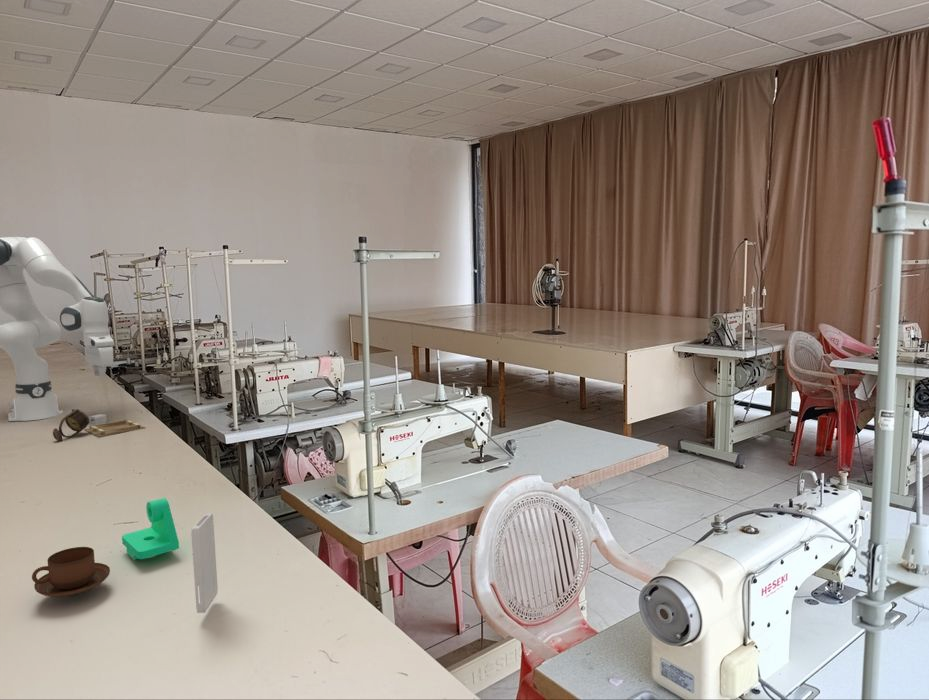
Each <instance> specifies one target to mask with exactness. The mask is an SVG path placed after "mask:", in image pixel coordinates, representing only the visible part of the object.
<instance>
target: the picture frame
mask: <svg viewBox="0 0 929 700" xmlns="http://www.w3.org/2000/svg"><path fill="white" fill-rule="evenodd" d="M143 429H146V427H145V426H143V425H141V424H139V423H137V422H134V421H131V420H129V419H124V420H123V419H122V420H118V421H117V420H115V421H110V422H107V423H103V424H97V425H91V424H90V425H89V428H85V429H83V431H85V432H87V433H88V434H90V435H93V436H94V437H96V438H98V439H100V438H104V437H109V436H110V437H111V436H114V435H119V434H120V435H121V434H123V433H129V432H135V431H138V430H143Z"/></svg>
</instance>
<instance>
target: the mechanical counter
mask: <svg viewBox="0 0 929 700" xmlns="http://www.w3.org/2000/svg"><path fill="white" fill-rule="evenodd" d="M64 422H65V423H66V425H67V427H68V428H69V429H70V430H71V431H73V432H74V433H73V434H71V435H65V434H64V433H63V429H62V428H63V427H62V426H63V423H64ZM88 425H90V421H89V416H88V415H87V413H85V412H84V411H83V410H80V409H78V408H75V409H74V408H73V409H71V412H70V413H68V414H66V415H65V416H64V417H63V418H62V419H61V420H60V423H59V425H58V428H56V427H55V428H54V429H52V437H53V438H54V439H55V440H56V441H58V442H62V441H63V438H67V439H68V438H69V439H70V438H73V437H76V435H78V434H79V433H81V432H82V431H84V429H87V426H88Z"/></svg>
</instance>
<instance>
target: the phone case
mask: <svg viewBox="0 0 929 700" xmlns="http://www.w3.org/2000/svg"><path fill="white" fill-rule="evenodd" d="M214 522H215V521H214V514H213V513H204V514H203V515H202V516H201V517H200V519H198V521H197V522H196V523H195V524H194V525H193V526H192V528H191V533H190V536H191V546H192V547H191V549H192V551H191V552H192V565H193V578H194V590H195V591H194V592H195V593H194V594H195V608H196V612H197V613H198V614H205V613H206V612H207V610H208V609H209V607H210V606H211V604H212V603H213V601H214V599H215V598H216V596H217V595H218V588H219V586H218V573H217V572H218V571H217V558H216V542H215V541H216V540H215V526H214V525H215V524H214Z"/></svg>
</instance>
